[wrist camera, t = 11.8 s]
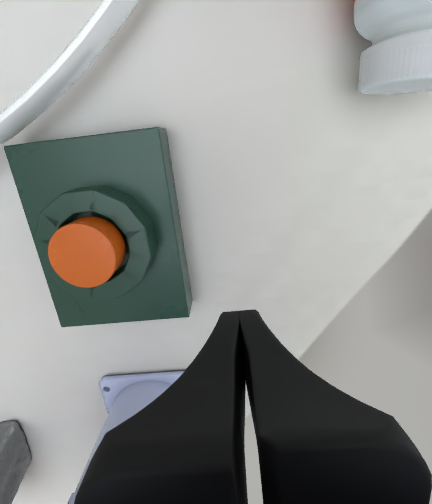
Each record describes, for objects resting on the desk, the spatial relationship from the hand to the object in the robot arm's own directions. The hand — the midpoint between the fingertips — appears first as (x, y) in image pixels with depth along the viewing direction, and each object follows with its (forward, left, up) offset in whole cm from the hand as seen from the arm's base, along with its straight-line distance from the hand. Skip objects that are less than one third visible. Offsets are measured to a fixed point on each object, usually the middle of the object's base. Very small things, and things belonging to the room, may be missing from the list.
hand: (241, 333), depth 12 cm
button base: (+2, +8, -10) cm, 13 cm away
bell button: (+2, +8, -7) cm, 11 cm away
